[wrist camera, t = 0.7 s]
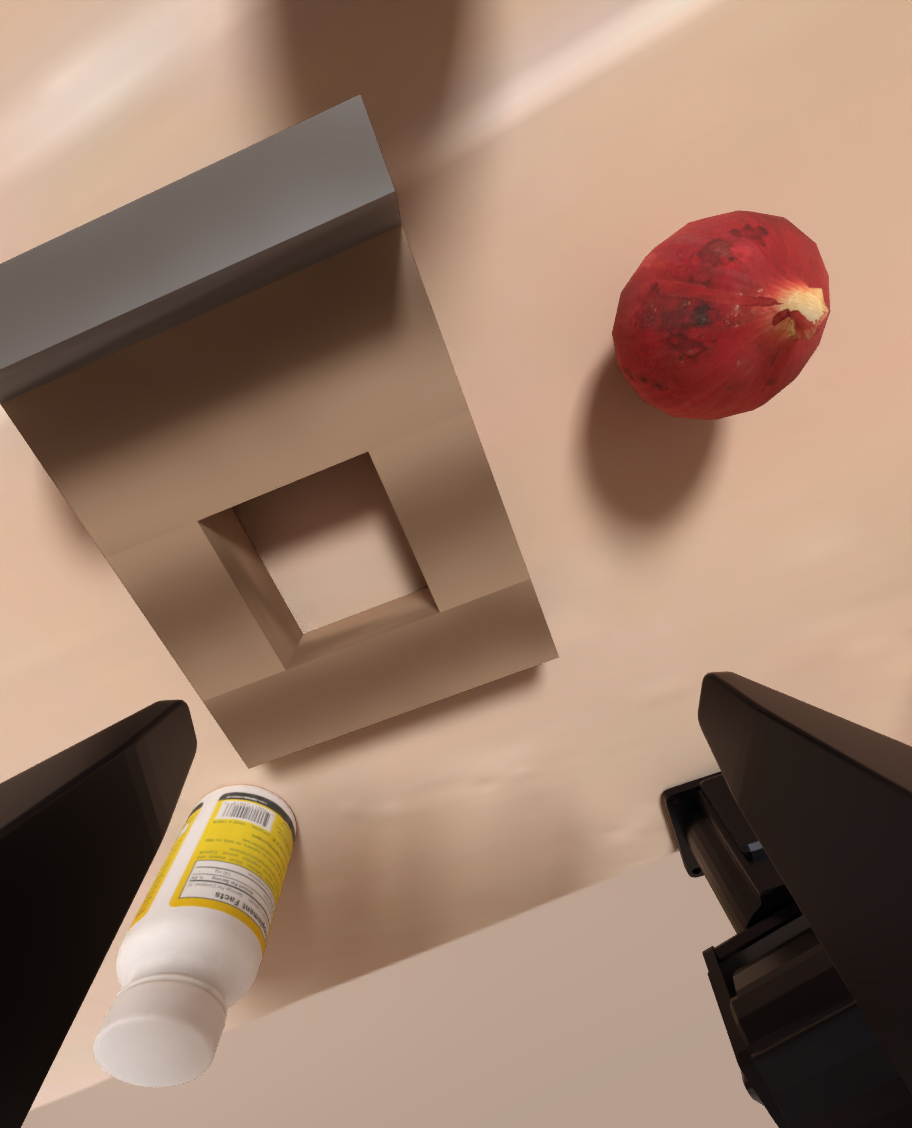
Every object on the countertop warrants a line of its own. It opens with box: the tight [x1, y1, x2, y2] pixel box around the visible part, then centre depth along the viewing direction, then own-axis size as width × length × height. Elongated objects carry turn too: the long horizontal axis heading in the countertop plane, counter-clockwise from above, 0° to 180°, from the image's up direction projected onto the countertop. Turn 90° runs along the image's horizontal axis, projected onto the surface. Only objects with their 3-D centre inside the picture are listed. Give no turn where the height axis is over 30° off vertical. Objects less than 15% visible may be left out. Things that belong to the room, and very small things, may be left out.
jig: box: [0, 95, 559, 769], centre depth 18 cm, size 18×14×6 cm
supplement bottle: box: [93, 785, 296, 1087], centre depth 22 cm, size 5×5×10 cm
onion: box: [612, 211, 830, 420], centre depth 16 cm, size 6×6×8 cm
